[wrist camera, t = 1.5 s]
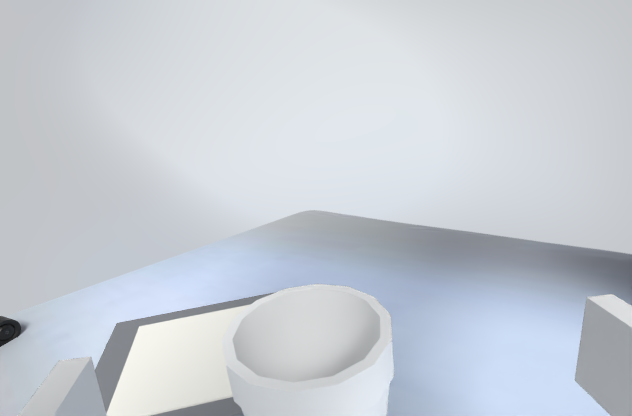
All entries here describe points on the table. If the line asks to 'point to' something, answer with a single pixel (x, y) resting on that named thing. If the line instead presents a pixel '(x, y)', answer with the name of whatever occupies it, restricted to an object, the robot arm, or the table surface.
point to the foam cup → (311, 354)
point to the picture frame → (170, 364)
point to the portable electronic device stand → (8, 330)
